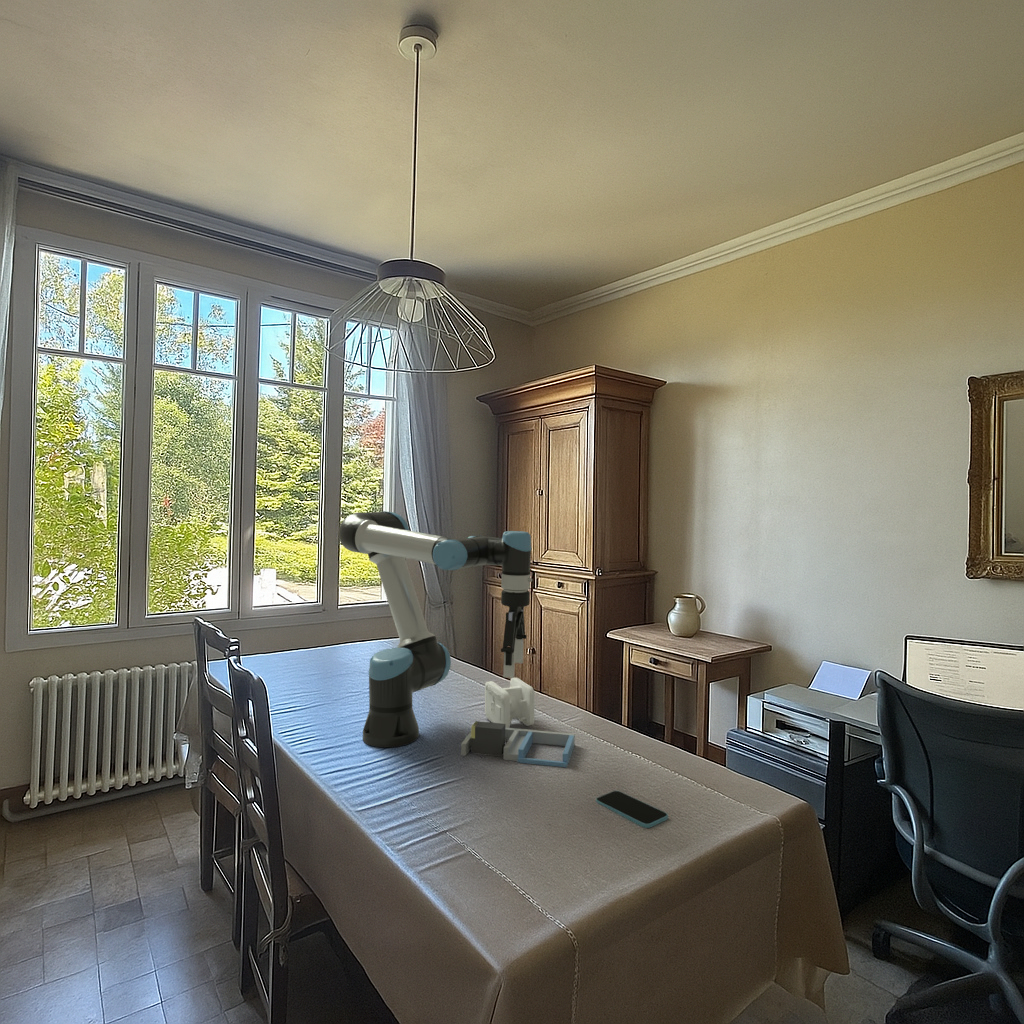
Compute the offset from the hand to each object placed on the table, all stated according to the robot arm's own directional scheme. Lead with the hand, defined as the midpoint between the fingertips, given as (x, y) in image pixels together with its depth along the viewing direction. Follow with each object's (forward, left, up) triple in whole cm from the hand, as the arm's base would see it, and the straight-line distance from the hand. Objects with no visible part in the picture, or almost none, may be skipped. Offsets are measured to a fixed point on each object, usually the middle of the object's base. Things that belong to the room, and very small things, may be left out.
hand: (513, 669), depth 171 cm
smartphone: (+32, -27, -21) cm, 47 cm away
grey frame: (+2, -2, -20) cm, 21 cm away
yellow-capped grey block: (-5, -5, -21) cm, 22 cm away
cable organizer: (-5, +16, -21) cm, 27 cm away
